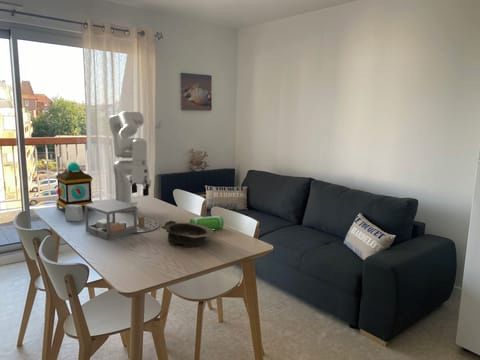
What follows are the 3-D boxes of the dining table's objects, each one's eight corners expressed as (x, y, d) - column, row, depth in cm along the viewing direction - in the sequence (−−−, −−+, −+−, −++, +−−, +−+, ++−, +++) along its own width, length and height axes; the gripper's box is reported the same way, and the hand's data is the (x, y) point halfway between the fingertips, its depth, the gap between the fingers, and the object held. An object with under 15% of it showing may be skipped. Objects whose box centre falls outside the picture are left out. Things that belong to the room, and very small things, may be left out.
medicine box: (82, 219, 210) (82, 205, 208) (78, 221, 205) (78, 207, 204) (69, 218, 210) (69, 204, 209) (65, 220, 206) (64, 206, 204)
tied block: (140, 225, 203) (140, 215, 202) (147, 227, 200) (147, 217, 199) (107, 234, 187) (107, 223, 186) (114, 236, 184) (114, 225, 183)
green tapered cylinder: (219, 226, 207) (219, 213, 206) (223, 230, 201) (224, 217, 199) (189, 229, 200) (189, 216, 199) (193, 233, 194) (193, 220, 192)
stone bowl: (151, 244, 175) (152, 225, 174) (182, 234, 197) (183, 217, 196) (193, 254, 164) (194, 234, 163) (221, 242, 186) (223, 224, 185)
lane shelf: (114, 224, 204) (113, 199, 201) (136, 232, 192) (136, 206, 189) (85, 231, 190) (84, 204, 188) (108, 240, 179) (107, 212, 176)
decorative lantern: (85, 203, 245) (83, 159, 239) (97, 210, 231) (95, 163, 225) (53, 207, 231) (51, 161, 226) (64, 215, 217) (61, 165, 212)
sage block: (106, 227, 198) (106, 218, 197) (113, 229, 194) (113, 220, 193) (96, 230, 193) (96, 221, 192) (103, 232, 190) (103, 223, 189)
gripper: (155, 163, 192) (156, 195, 195) (135, 160, 202) (135, 190, 205) (144, 165, 186) (144, 197, 189) (123, 161, 196) (124, 192, 199)
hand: (140, 194), depth 197 cm, fingers open, 9 cm apart
